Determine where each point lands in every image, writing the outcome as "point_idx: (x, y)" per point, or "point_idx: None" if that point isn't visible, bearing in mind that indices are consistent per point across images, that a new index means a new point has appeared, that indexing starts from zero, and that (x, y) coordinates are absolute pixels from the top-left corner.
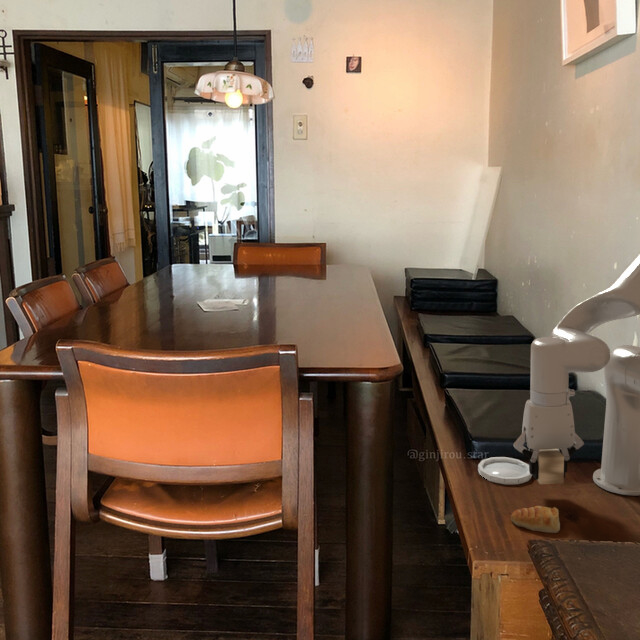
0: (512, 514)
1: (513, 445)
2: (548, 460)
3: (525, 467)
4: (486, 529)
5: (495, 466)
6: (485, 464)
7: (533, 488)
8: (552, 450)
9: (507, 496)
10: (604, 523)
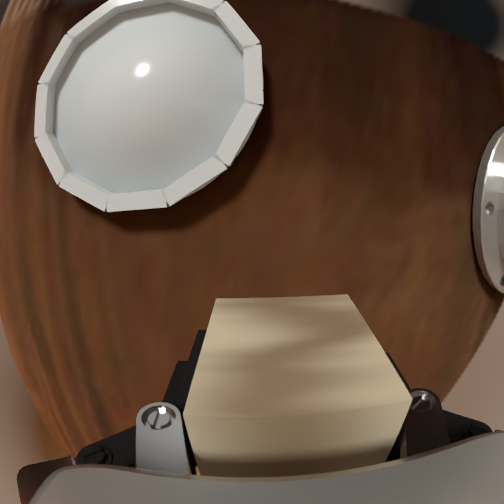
0: None
1: (22, 474)
2: None
3: (243, 57)
4: (84, 445)
5: (111, 54)
6: (80, 45)
7: (234, 241)
8: (346, 449)
9: (120, 310)
10: None
